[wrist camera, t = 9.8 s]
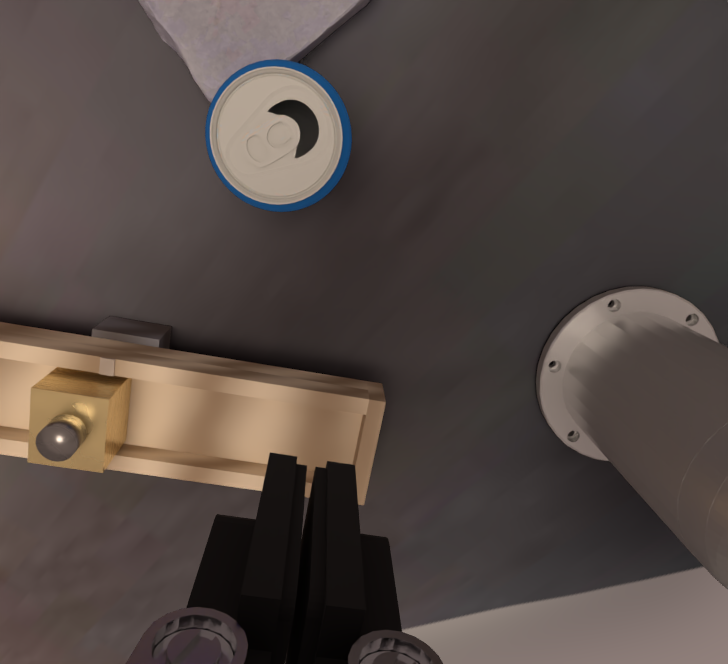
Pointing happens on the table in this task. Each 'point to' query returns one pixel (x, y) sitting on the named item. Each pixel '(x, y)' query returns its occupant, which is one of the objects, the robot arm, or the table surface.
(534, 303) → the table surface
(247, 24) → the stone block
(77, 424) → the rider
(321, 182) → the beverage can
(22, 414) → the beam
